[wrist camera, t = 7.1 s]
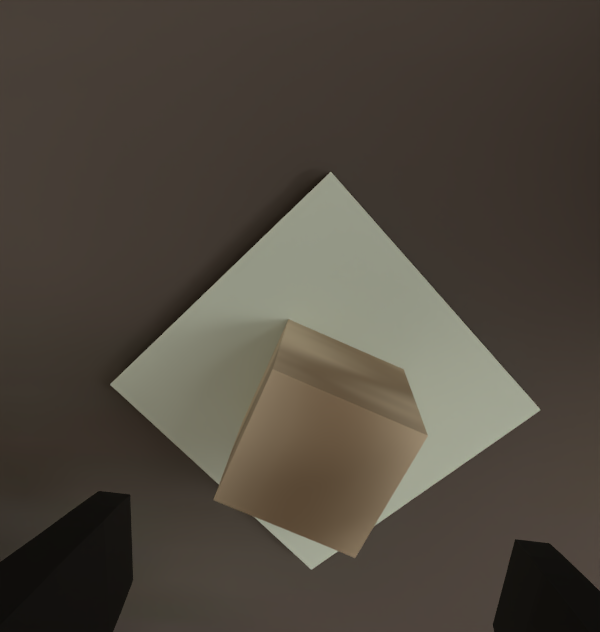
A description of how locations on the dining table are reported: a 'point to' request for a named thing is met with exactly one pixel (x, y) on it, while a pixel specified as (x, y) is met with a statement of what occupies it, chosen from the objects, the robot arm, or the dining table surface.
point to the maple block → (323, 441)
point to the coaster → (333, 321)
